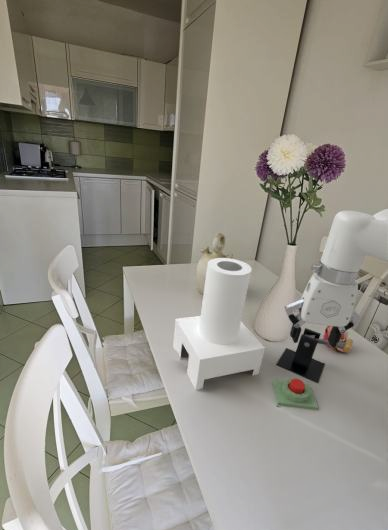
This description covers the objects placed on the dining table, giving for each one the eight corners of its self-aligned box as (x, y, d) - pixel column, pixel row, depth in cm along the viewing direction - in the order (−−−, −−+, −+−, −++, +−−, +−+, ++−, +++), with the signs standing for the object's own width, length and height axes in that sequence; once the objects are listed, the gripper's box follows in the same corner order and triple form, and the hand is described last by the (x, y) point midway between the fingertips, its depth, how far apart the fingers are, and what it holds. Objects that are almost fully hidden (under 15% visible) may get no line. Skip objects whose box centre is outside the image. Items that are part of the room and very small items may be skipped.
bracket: (323, 366, 92) (336, 334, 86) (316, 385, 84) (330, 351, 79) (285, 350, 97) (294, 319, 92) (275, 367, 89) (285, 334, 84)
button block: (307, 388, 83) (311, 379, 81) (316, 412, 76) (320, 402, 74) (271, 384, 83) (274, 374, 81) (276, 407, 76) (279, 397, 74)
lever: (352, 345, 83) (353, 337, 82) (350, 354, 79) (351, 346, 78) (306, 338, 89) (306, 331, 88) (302, 346, 85) (302, 339, 84)
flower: (309, 338, 102) (326, 329, 95) (323, 325, 107) (340, 316, 100) (328, 362, 100) (347, 355, 94) (342, 347, 105) (360, 340, 98)
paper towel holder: (195, 390, 78) (210, 285, 64) (173, 346, 93) (181, 253, 79) (257, 376, 85) (283, 279, 71) (227, 337, 100) (243, 251, 86)
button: (301, 384, 79) (303, 379, 78) (304, 394, 76) (306, 389, 75) (287, 382, 79) (289, 377, 79) (290, 393, 76) (292, 387, 75)
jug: (187, 287, 130) (192, 230, 118) (212, 280, 140) (220, 226, 128) (212, 302, 120) (221, 242, 109) (237, 293, 130) (248, 236, 118)
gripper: (299, 275, 60) (278, 346, 68) (387, 286, 59) (356, 356, 67) (290, 261, 66) (272, 328, 74) (370, 271, 66) (343, 337, 74)
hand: (312, 341), depth 71 cm, fingers open, 8 cm apart
